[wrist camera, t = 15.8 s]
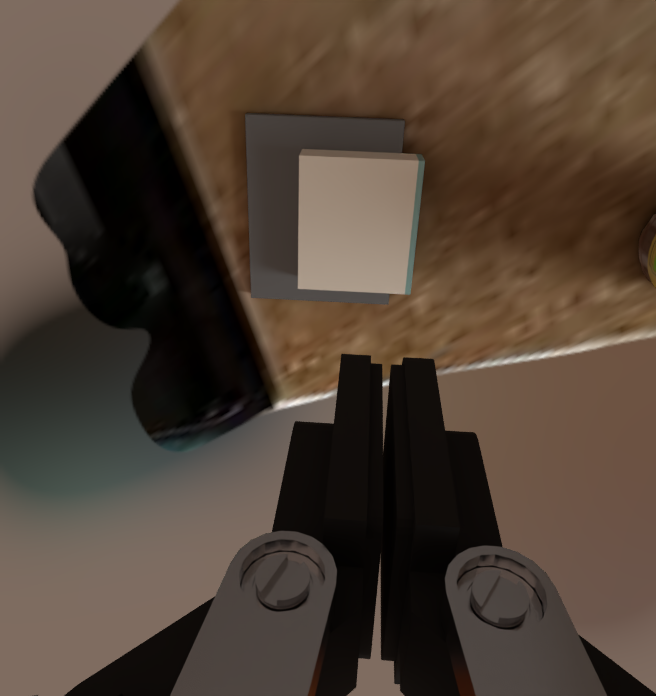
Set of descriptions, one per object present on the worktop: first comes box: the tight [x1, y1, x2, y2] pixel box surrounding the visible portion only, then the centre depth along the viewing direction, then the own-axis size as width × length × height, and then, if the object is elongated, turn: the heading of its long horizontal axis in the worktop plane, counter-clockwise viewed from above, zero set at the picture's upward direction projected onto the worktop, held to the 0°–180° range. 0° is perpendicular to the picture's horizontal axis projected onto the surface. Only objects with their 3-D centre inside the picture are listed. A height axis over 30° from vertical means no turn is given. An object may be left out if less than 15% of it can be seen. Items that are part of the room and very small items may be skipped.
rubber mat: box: [245, 113, 405, 304], centre depth 32 cm, size 8×10×1 cm
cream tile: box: [298, 149, 425, 295], centre depth 31 cm, size 7×2×6 cm
